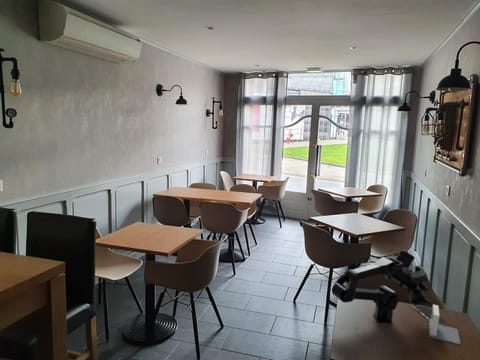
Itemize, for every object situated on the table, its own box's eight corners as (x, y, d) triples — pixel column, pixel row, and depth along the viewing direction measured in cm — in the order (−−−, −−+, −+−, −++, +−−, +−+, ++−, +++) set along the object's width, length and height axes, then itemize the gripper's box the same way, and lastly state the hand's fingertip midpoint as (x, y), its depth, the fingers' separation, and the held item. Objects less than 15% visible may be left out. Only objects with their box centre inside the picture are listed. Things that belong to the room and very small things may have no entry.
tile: (430, 334, 147) (433, 314, 145) (430, 323, 156) (433, 304, 154) (436, 336, 146) (439, 316, 144) (435, 324, 155) (438, 305, 153)
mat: (429, 336, 146) (429, 335, 146) (428, 322, 157) (428, 321, 157) (460, 345, 141) (460, 344, 141) (457, 330, 152) (457, 329, 152)
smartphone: (434, 324, 155) (412, 305, 171) (434, 326, 155) (411, 307, 171) (449, 323, 156) (425, 305, 172) (449, 326, 156) (425, 307, 172)
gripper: (419, 279, 145) (449, 302, 145) (412, 253, 161) (439, 274, 161) (399, 294, 150) (428, 316, 150) (394, 268, 167) (420, 287, 167)
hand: (429, 297), depth 157 cm, fingers open, 9 cm apart
